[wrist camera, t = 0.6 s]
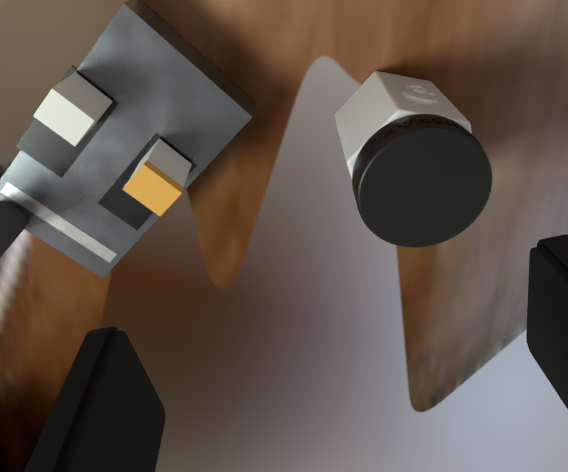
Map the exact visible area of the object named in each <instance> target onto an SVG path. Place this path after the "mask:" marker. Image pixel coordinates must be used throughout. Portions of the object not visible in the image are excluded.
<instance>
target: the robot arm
mask: <svg viewBox="0 0 568 472" xmlns="http://www.w3.org/2000/svg"><path fill="white" fill-rule="evenodd" d="M527 344H528V347H529V350H530V352H531V353H532V355H533V357H534V359H535V360H536V361H537V363H538V365H539V366H540V368H541V369H542V371H543V372H544V374H545V375H546V377H547V378H548V380H549V381H550V383H551V384H552V386H553V387H554V389H555V390H556V392H557V393H558V395H559V397H560V398H561V400H562V401H563V403H564V404H565V406H566V407H567V408H568V235H567V234H565V235H560V236H556V237H551V238H546V239H541V240H539V241H538V243H537V247H535V248H532V249H531V250H530V261H529V286H528V311H527ZM164 424H165V411H164V407H163V405H162V403H161V401H160V399H159V397H158V395H157V393H156V391H155V389H154V387H153V385H152V383H151V381H150V379H149V377H148V375H147V373H146V372H145V369H144V368H143V365H142V364H141V362H140V360H139V358H138V356H137V354H136V352H135V350H134V348H133V346H132V344H131V342H130V340H129V338H128V336H127V335H126V333H125V332H124V331H118V329H117V328H116V327H113V326H111V327H107V328H102V329H96V330H91V331H89V332H88V333H87V334H86V336H85V338H84V340H83V343H82V345H81V347H80V349H79V352H78V354H77V356H76V358H75V360H74V363H73V365H72V367H71V369H70V372H69V374H68V376H67V378H66V380H65V383H64V385H63V387H62V389H61V392H60V394H59V396H58V398H57V401H56V403H55V405H54V407H53V409H52V411H51V414H50V416H49V418H48V420H47V422H46V425H45V427H44V429H43V431H42V434H41V436H40V438H39V440H38V443H37V445H36V447H35V449H34V451H33V454H32V456H31V458H30V460H29V463H28V465H27V467H26V469H25V471H24V472H155V468H156V463H157V458H158V453H159V449H160V443H161V438H162V434H163V429H164Z"/></svg>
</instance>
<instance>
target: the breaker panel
mask: <svg viewBox="0 0 568 472" xmlns="http://www.w3.org/2000/svg"><path fill="white" fill-rule="evenodd" d="M74 72H76V73H77V74H79V75H80V76H81V77H82V78H84V79H85V80H86V81H87V82H89V83H90V84H91V85H92V86H94V87H95V88H96V89H98V90H99V91H100V92H101V93H103V94H104V95H105V96H106V97H108V98H109V99H110V100H111V101H113V102H112V103H111V104H110V106H109V107H108V108H107V110H106V111H105V112H104V114H103V115H102V116H101V117H100V119H99V120H98V121H97V123H96V124H95V125H94V126H93V128H92V129H91V130H90V131H89V132H88V133H87V134H86V135H85V136H84V137H83V138H82V140H81V141H80V142H79V143H78V144H77V145H76V146H73V145H72V144H71V143H69V142H68V141H67V140H65V139H64V138H62V137H61V136H60V135H58V134H57V133H56V132H54V131H53V130H51V129H50V128H49V127H47V126H46V125H45V124H43V123H42V122H40V121H39V120H38V119H36V118H35V120H34V121H33V123H32V124H31V126H30V127H29V128H28V130H27V131H26V133H25V134H24V136H23V137H22V139H21V140H20V142H19V143H18V144H17V146H16V147H17V148H19V149H20V150H21V151H20V152H19V154H18V155H17V157H16V158H15V159H14V161H13V162H12V164H11V165H10V167H9V168H8V169H7V171H6V172H5V174H4V175H3V177H2V178H1V179H0V202H7V203H10V204H13V205H15V206H16V207H18V208H19V209H20V210H21V211H22V212H23V214H24V215H25V218H26V226H25V228H24V229H25V230H27V231H28V232H30V233H32V234H33V235H35V236H36V237H38V238H40V239H41V240H43V241H44V242H46V243H48V244H49V245H51V246H52V247H54V248H55V249H57V250H59V251H60V252H62V253H63V254H65V255H67V256H68V257H70V258H71V259H73V260H74V261H76V262H78V263H79V264H81V265H82V266H84V267H86V268H87V269H89V270H90V271H92V272H93V273H95V274H97V275H98V276H100V277H101V278H104V276H105V275H106V274H107V273H108V272H109V271H110V270H111V269H112V268H113V267H114V266H115V265H116V264H117V262H118V261H119V260H120V259H121V258H122V257H123V256H124V255H125V254H126V253H127V252H128V251H129V250H130V248H131V247H132V246H133V245H134V244H135V243H136V242H137V241H138V240H139V239H140V238H141V237H142V236H143V234H144V233H145V232H146V231H147V230H148V229H149V228H150V227H151V226H152V225H153V224H154V223H155V222H156V220H157V219H158V218H159V217H160V216H158V215H157V214H156V213H154V212H153V211H152V210H150V209H149V208H147V207H146V206H145V205H143V204H142V203H140V202H139V201H138V200H136V199H135V198H133V197H132V196H131V195H129V194H128V193H127V192H125V191H124V190H122V189H123V188H124V186H125V184H126V183H127V182H128V181H129V179H130V178H131V176H132V174H133V172H134V171H135V169H136V167H137V166H138V164H139V162H140V161H141V159H142V158H143V157H144V156H145V155H146V153H147V152H148V151H149V150H150V149H151V148H152V146H153V145H154V144H155V143H156V142H157V140H158V139H159V138H160V139H161V140H162V141H163V142H165V143H166V144H167V145H168V146H170V147H171V148H172V149H173V150H175V151H176V152H177V153H179V154H180V155H181V156H182V157H184V158H185V159H186V160H187V161H189V162H190V163H191V164H192V165H191V168H190V170H189V173H188V176H187V179H186V181H185V184H184V187H183V188H184V189H183V191H184V190H185V189H186V188H187V187H188V186H189V185H190V184H191V183H192V182H193V181H194V180H195V179H196V177H197V176H198V175H199V174H200V173H201V172H202V171H203V170H204V169H205V168H206V167H207V166H208V165H209V163H210V162H211V161H212V160H213V159H214V158H215V157H216V156H217V155H218V154H219V153H220V152H221V151H222V149H223V148H224V147H225V146H226V145H227V144H228V143H229V142H230V141H231V140H232V139H233V138H234V137H235V135H236V134H237V133H238V132H239V131H240V130H241V129H242V128H243V127H244V126H245V125H246V124H247V123H248V122H249V120H250V119H251V118H252V117H253V111H254V104H255V102H254V101H253V100H252V99H251V98H250V97H248V96H247V95H246V94H245V93H244V92H243V91H242V90H241V89H240V88H238V87H237V86H236V85H235V84H234V83H233V82H232V81H231V80H230V79H228V78H227V77H226V76H225V75H224V74H223V73H222V72H221V71H220V70H218V69H217V68H216V67H215V66H214V65H213V64H212V63H211V62H210V61H208V60H207V59H206V58H205V57H204V56H203V55H202V54H201V53H200V52H198V51H197V50H196V49H195V48H194V47H193V46H192V45H191V44H190V43H188V42H187V41H186V40H185V39H184V38H183V37H182V36H181V35H180V34H178V33H177V32H176V31H175V30H174V29H173V28H172V27H171V26H170V25H168V24H167V23H166V22H165V21H164V20H163V19H162V18H161V17H160V16H159V15H157V14H156V13H155V12H154V11H153V10H152V9H151V8H150V7H149V6H147V5H146V4H145V3H144V2H143V1H142V0H129V1H127V2H125V3H124V4H123V5H122V6H121V8H120V9H119V11H118V12H117V14H116V15H115V17H114V18H113V19H112V21H111V22H110V24H109V25H108V27H107V28H106V29H105V31H104V32H103V34H102V35H101V37H100V38H99V40H98V41H97V42H96V44H95V45H94V46H93V48H92V50H91V51H90V52H89V54H88V55H87V57H86V58H85V59H84V61H83V62H82V64H81V65H80V67H79V68H78V69H76V68H75V67H74V66H71V68H70V69H69V71H68V72H67V74H66V75H65V77H64V78H63V79H62V81H63V80H64V79H66V78H67V77H69V76H70V75H71V74H73V73H74ZM62 81H61V82H62ZM182 193H183V192H182Z"/></svg>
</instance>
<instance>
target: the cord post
mask: <svg viewBox="0 0 568 472" xmlns="http://www.w3.org/2000/svg"><path fill="white" fill-rule="evenodd" d="M25 226H26V218H25V215H24V214H23V212H22V211H21V210H20V209H19V208H18V207H16V206H15V205H13V204H10V203H7V202H0V257H1V256H2V255H3V253H4V252H5V251H6V250H7V249H8V247H9V246H10V245H11V244H12V243H13V242H14V240H15V239H16V238H17V237H18V236H19V234H20V233H21V232H22V231H23V230H24V228H25Z"/></svg>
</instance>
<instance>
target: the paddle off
mask: <svg viewBox="0 0 568 472" xmlns="http://www.w3.org/2000/svg"><path fill="white" fill-rule="evenodd" d="M112 102H113V101H111V100H110V99H109V98H108V97H106V96H105V95H104V94H103V93H101V92H100V91H99V90H98V89H96V88H95V87H94V86H92V85H91V84H90V83H89V82H87V81H86V80H85V79H84V78H82V77H81V76H80V75H79V74H77V73H76V72H74V73H73V74H71V75H70V76H69V77H67V78H66V79H64V80H63V81H62V82H60V83H59V84H58V85H56V86H55V87H53V88H52V89H51V91H50V92H49V94H48V95H47V97H46V98H45V100H44V101H43V102H42V104H41V105H40V107H39V108H38V110H37V111H36V113H35V114H34V117H35V118H36V119H38V120H39V121H40V122H42V123H43V124H45V125H46V126H47V127H49V128H50V129H51V130H53V131H54V132H56V133H57V134H58V135H60V136H61V137H62V138H64V139H65V140H67V141H68V142H69V143H71V144H72V145H73V146H76V145H77V144H78V143H79V142H80V141H81V140H82V138H83V137H84V136H85V135H86V134H87V133H88V132H89V131H90V130H91V129H92V128H93V126H94V125H95V124H96V123H97V121H98V120H99V119H100V117H101V116H102V115H103V114H104V112H105V111H106V110H107V108H108V107H109V106H110V104H111V103H112Z"/></svg>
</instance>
